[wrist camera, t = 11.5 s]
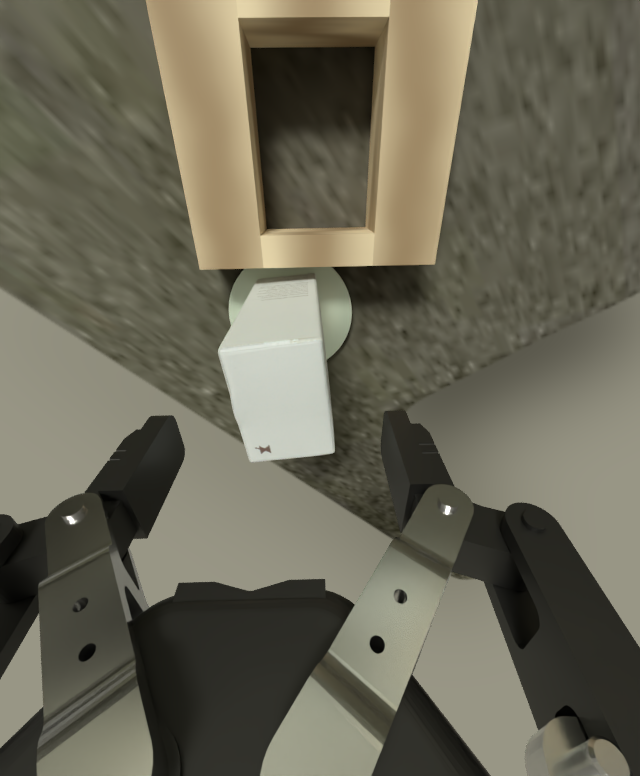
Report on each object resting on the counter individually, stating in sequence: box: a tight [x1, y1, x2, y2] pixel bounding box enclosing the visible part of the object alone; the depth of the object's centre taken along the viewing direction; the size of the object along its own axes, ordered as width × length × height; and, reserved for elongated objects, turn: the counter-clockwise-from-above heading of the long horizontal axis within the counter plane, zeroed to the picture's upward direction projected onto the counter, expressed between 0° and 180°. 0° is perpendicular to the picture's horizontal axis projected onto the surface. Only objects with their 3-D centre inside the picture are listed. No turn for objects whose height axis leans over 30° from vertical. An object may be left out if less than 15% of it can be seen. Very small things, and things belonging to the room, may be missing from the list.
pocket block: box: [146, 0, 478, 270], centre depth 18 cm, size 14×12×4 cm
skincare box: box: [218, 273, 335, 462], centre depth 19 cm, size 6×4×12 cm
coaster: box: [229, 267, 352, 359], centre depth 24 cm, size 9×9×1 cm
